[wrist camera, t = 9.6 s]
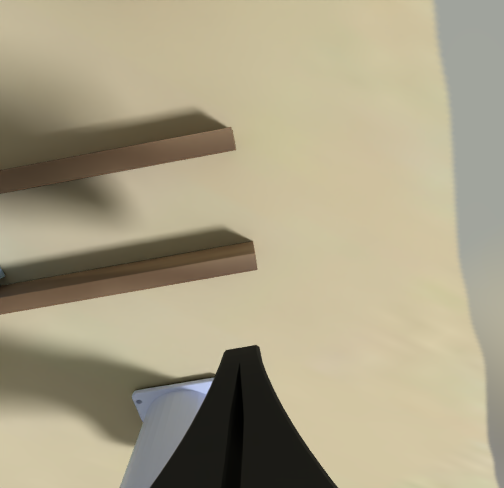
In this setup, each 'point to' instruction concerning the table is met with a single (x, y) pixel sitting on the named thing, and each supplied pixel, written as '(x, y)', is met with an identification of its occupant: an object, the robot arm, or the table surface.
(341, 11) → the table surface
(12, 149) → the table surface
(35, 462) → the table surface
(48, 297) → the guide rail
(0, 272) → the block
